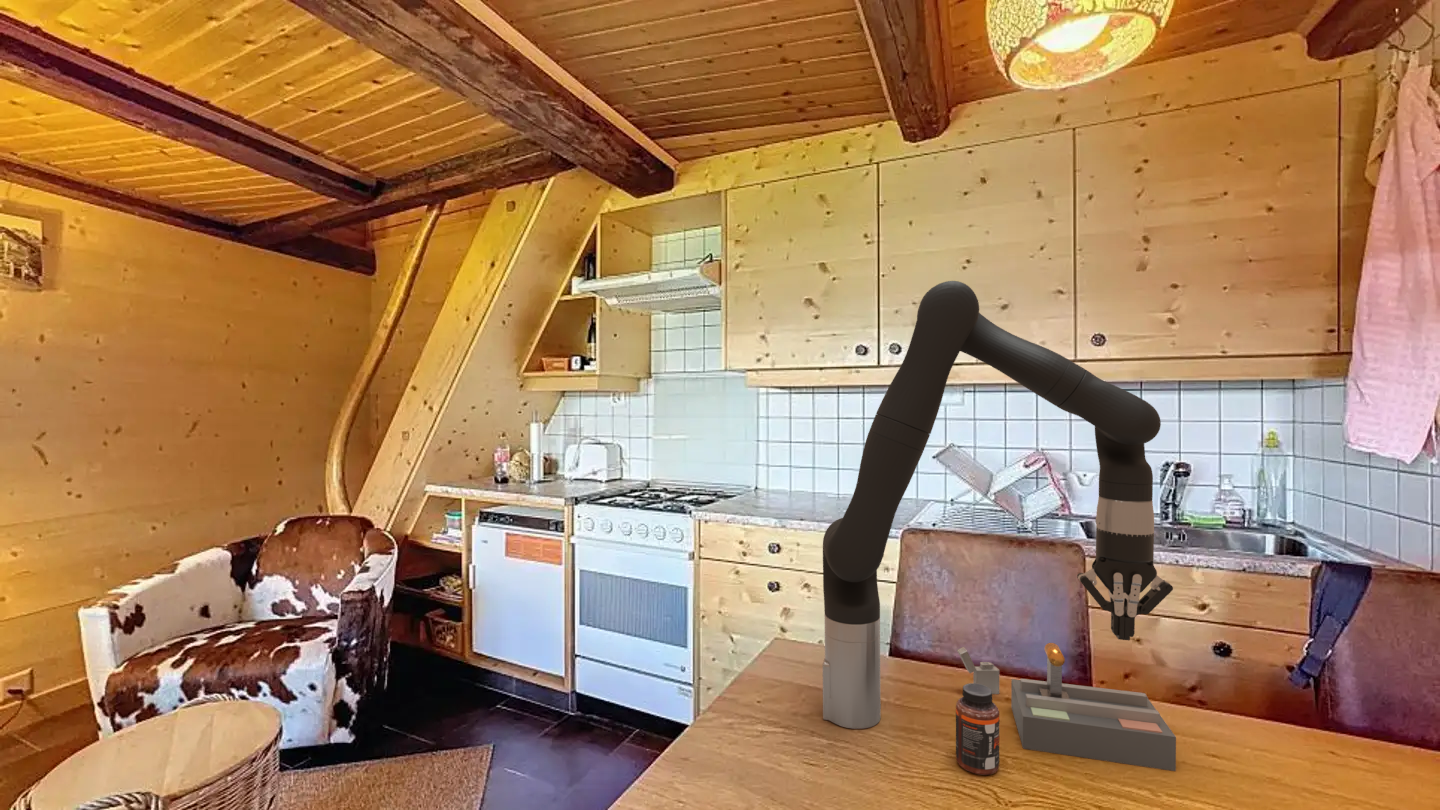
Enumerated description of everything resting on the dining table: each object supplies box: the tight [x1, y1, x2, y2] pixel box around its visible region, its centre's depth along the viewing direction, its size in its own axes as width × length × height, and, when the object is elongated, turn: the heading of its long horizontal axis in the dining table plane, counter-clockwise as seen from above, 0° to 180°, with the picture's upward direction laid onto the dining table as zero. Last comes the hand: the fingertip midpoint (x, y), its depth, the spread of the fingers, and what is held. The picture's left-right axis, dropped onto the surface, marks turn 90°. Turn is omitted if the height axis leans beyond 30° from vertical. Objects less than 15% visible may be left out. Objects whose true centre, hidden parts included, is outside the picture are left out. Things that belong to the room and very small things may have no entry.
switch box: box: [1010, 678, 1177, 772], centre depth 99 cm, size 20×13×7 cm, turn 72°
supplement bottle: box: [955, 682, 1000, 776], centre depth 92 cm, size 6×6×11 cm
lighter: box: [956, 646, 1000, 695], centre depth 115 cm, size 7×2×8 cm, turn 89°
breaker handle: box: [1039, 642, 1070, 699], centre depth 101 cm, size 4×4×8 cm
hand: (1122, 638), depth 98 cm, fingers closed
